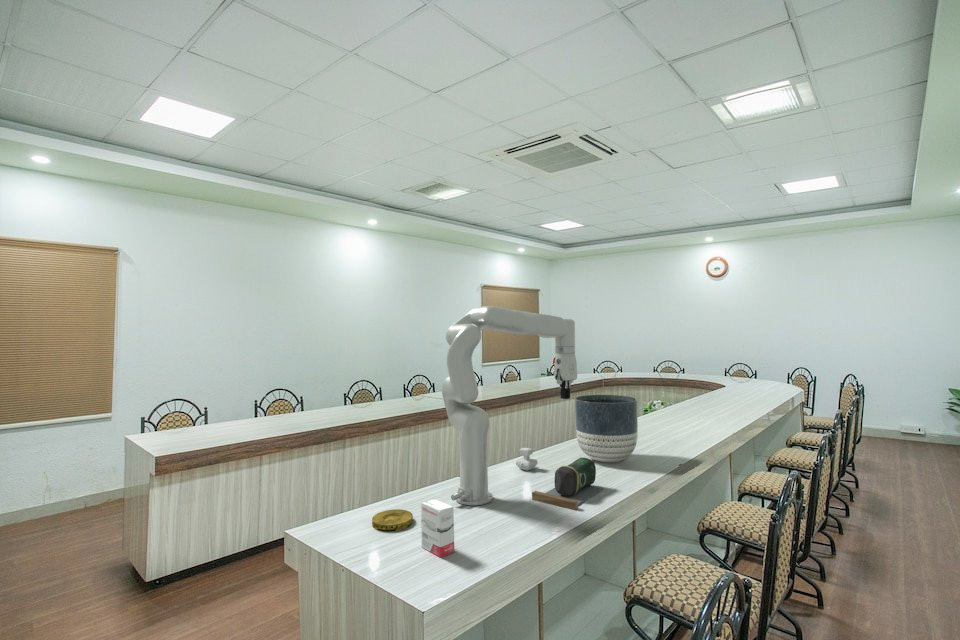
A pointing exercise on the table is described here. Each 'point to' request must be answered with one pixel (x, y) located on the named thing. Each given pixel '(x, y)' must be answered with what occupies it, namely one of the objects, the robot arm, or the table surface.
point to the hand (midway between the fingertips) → (565, 398)
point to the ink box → (437, 527)
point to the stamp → (526, 460)
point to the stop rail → (555, 500)
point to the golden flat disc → (392, 520)
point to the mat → (579, 493)
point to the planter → (606, 426)
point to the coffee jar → (575, 476)
